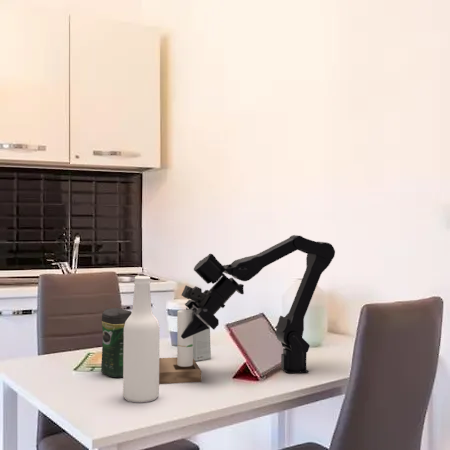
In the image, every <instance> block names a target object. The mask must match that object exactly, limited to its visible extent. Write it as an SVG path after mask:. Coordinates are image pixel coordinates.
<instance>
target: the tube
mask: <svg viewBox="0 0 450 450" xmlns="http://www.w3.org/2000/svg"><path fill="white" fill-rule="evenodd" d="M192 312H193V311H192V310H186V309H180V310H177V322H176V323H177V327H176V328H177V330H176V331H177V333H176V334H177V338H176V339H177V344H176V345H177V347H176V348H177V354H176V356H177V365H178V366H182V367H188V366H192V365H193V335H192V336H189V337H187V338H185V339H183V338H182V337H181V335H182V333H183V332H184V330H185V329H186V328H187V326H188V325H189V323H190V322H191V320H192Z"/></svg>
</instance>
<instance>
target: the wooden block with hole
mask: <svg viewBox="0 0 450 450" xmlns="http://www.w3.org/2000/svg"><path fill="white" fill-rule="evenodd" d="M201 382H202V370H201V368H200V366H199V365H198V363H197V362H196V361H195V360H194V359H193V365H192V366H188V367H182V366H178V365H177V357H159V385H160V384H161V385H163V384H165V385H167V384H180V383H181V384H183V383H184V384H185V383H201Z"/></svg>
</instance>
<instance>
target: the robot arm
mask: <svg viewBox="0 0 450 450" xmlns="http://www.w3.org/2000/svg"><path fill="white" fill-rule="evenodd" d="M295 251H300V252H301V253H304V254H306V259H305V261H306V264H305V265H306V268H305V271H304V274H303V277H302V278H301V281H300V283H299V287H298V288H297V291H296V294H295V296H294V299H293V300H292V301H293V302H292V304H291V307H290V309H289V312H288V313H287V314H286V315H284V316H283V315H279V318H278V321H277V324H276V325H275V326H274V328H275V329H276V330H275V336H276V338H277V340H278V341H279V342H280V343H281V346H282V348H283V349H282V353H281V356H280V359H281V360H280V362H281V363H280V369H282V370H283V371H284V372H285V373H287V374H300V373H309V369H307V354H308V352H309V349H310V347H311V345H310V344H309V342H307V341H306V340H305V338H303V335H304V330H305V316H306V315H307V311H308V309H309V306H310V304H311V301H312V299H313V296H314V293H315V291H316V288H317V287H318V283H319V281H320V278H321V276H322V274H323V273H324V272H325V270H326V269H327V268H328V267H329V266H330V265H331V263H332V261H333V259H334V258H335V254H336V249H335V248H334V245H332V243H330V242H324V241H314V240H312V239H309V238H306V237H303V236H302V235H297V234H294V235H291V236H289V237H288V238H287V239H285V240H283V241H282V240H281V242H278V243H277V244H274V245H273V246H271V247H268V248H267V249H265V250H263V251H260V252H259V253H257V254H254V255H250V256H245V257H240V258H239V259H235V260H233V261H232V262H231V263H230V264H224V265H223V264H222V263H221V262H220V261H219V260H218V259H217V258H216V256H215V255H214V254H212V253H209V254H208V255H206V256H205V257H203V258H202V259H201V260H199V261H198V262H197V263H196V265H194V267H193V271H194V272H195V273H196V274H197V275H198V276H199V277H200V278H201V279H202V280H203V281H204V282H205V283H206V284H207V285H209V284H212V285H213V286H212V287H211V288H210V289H209V290H208V289H205V290H204V291H203V289H202V288H201V287H198V286H194V287H191V286H189V285H185V286H184V288H183V290H182V293H181V297H183V298H185V299H188V300H187V301H186V303H184V305H185V306H186V307H185V310H192V311H193V312H192V320H191V322H190V323H189V325H188V326H187V328H186V329H185V330H184V332H183V333H182V335H181V337H182V338H183V339H185V338H187V337H189V336H192V335H194V334H196V333H199V332H201V331H204V330H206V329H209V327H208V325H209V326H210V329H212V330H216V328H217V327H218V326H219V323H220V322H219V321H220V320H219V319H218V318H217V317H216V316H215V314H217V312H219V310H221V308H222V309H224V308H225V307H226V305H225V304H226V302H228V300H230V298H231V297H232V296H233V295H234V294H235V293H236V292H237V293H238V294H240V295H244V294H245V293H244V292H245V291H244V284H242V283H238V282H237V281H236V280H239V281H241V282H247V281H250V280H251V279H253V278H254V277H255V276H257V275H258V274H259V273H260V272H261V271H262V270H263V269H264V268H266V267H267V266H269V265H271V264H272V263H275V262H276V261H279V260H280V259H282V258H285V257H286V256H288V255H290V254H292V253H294V252H295ZM227 275H229V276H231V277H230V278H229V277H228V276H227ZM235 279H236V280H235ZM202 291H203V292H202Z"/></svg>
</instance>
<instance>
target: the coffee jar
mask: <svg viewBox="0 0 450 450" xmlns="http://www.w3.org/2000/svg"><path fill="white" fill-rule="evenodd" d="M131 313H132V310H128V309H123V308H119V307H111V308H106V309H104V311H103V312H102V315H101V327H102V343H101V344H102V347H101V365H100V366H101V367H100V369H101V370H100V371H101V373H102V374H104V375H106V376H109V377H113V378H117V377H121V378H123V354H124V325H125V322H126V320H127V319H128V317H129V316H130V315H131Z"/></svg>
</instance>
